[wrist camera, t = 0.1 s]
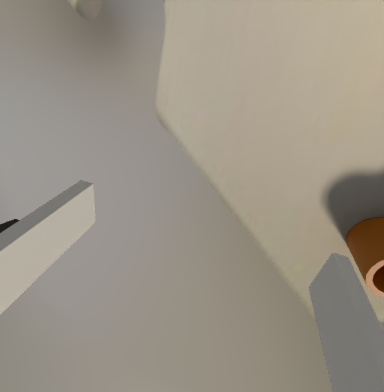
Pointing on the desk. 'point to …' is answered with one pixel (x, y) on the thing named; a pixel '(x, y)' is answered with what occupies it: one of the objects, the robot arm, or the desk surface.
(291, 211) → the desk surface
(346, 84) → the desk surface
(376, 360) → the robot arm
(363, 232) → the mug
